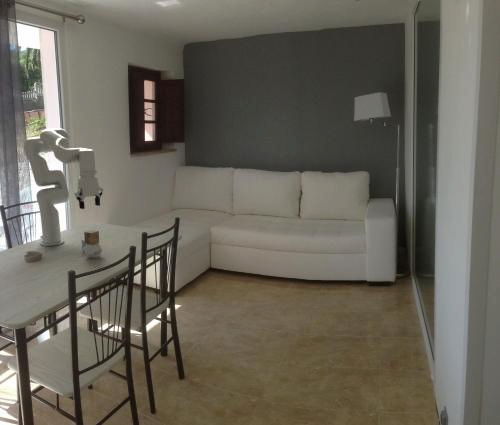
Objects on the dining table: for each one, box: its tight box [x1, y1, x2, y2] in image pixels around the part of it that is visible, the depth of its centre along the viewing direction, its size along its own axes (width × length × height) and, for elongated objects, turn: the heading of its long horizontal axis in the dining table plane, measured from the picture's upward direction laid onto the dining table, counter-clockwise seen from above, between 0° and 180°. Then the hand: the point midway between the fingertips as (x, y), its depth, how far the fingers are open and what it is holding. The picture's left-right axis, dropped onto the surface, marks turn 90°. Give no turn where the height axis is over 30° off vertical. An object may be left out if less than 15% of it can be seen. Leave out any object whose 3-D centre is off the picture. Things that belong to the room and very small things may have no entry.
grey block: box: [81, 238, 87, 252], centre depth 259 cm, size 5×5×6 cm
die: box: [83, 242, 103, 259], centre depth 246 cm, size 8×9×10 cm
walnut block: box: [83, 229, 100, 245], centre depth 244 cm, size 5×5×6 cm
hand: (90, 207), depth 246 cm, fingers open, 9 cm apart
